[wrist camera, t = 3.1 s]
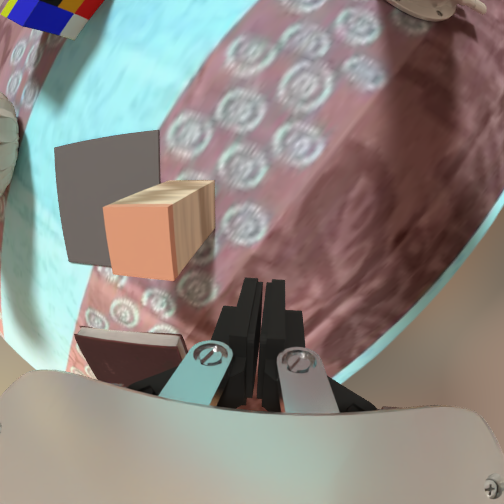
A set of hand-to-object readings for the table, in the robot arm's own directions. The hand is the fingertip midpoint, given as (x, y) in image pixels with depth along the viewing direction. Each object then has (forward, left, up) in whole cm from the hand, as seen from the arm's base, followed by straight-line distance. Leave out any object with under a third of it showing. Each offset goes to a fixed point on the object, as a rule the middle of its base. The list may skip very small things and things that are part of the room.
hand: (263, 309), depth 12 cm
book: (+20, +24, -18) cm, 36 cm away
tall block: (+9, 0, -17) cm, 20 cm away
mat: (+20, 0, -17) cm, 27 cm away
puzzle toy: (+27, -30, -18) cm, 44 cm away
